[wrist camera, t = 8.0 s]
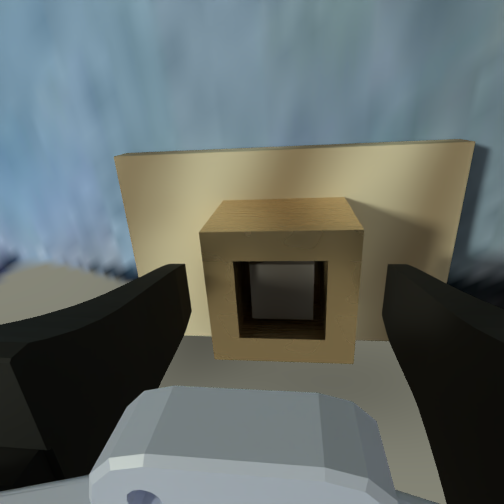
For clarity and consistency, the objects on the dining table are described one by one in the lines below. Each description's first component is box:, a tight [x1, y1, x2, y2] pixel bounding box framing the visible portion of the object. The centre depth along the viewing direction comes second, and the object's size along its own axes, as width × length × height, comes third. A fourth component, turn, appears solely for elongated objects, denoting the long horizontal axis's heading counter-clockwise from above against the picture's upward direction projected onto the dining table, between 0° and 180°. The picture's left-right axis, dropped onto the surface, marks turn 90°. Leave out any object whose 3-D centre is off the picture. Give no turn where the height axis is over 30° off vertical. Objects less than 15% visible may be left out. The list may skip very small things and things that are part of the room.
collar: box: [199, 197, 364, 364], centre depth 13 cm, size 5×5×4 cm
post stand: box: [114, 139, 475, 341], centre depth 14 cm, size 14×9×4 cm, turn 93°
